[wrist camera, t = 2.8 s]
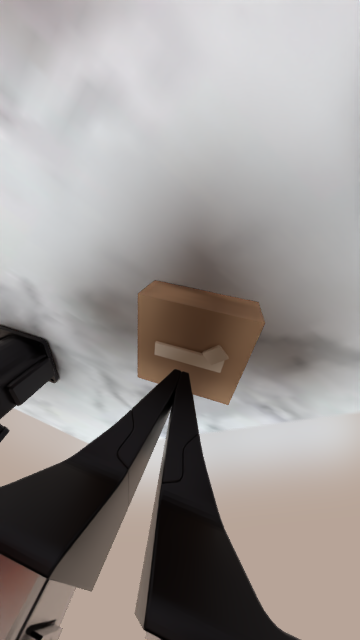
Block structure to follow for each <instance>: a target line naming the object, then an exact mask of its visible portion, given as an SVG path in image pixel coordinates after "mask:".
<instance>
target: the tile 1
mask: <svg viewBox="0 0 360 640" xmlns="http://www.w3.org/2000/svg"><path fill="white" fill-rule="evenodd" d="M264 324H265V321H264V318H263V315H262V312H261V309H260V305H259V302H255V301H250V300H245V299H241V298H236V297H231V296H227V295H222V294H217V293H213V292H208V291H203V290H199V289H194V288H189V287H184V286H180V285H175V284H170V283H166V282H161V281H156V280H155V281H153V282H152V283H151V284H150V285H148V286H147V287H146V288H144V289H143V290H142V291H141V292H139V293H138V377H139V378H142V379H145V380H148V381H152V382H155V383H158V384H159V383H160V382H161V381H162V380H163V379H164V378H165V377H166V376H167V375H168V374H169V373H171V372H172V371H173V370H174V369H178V370H181V372H182V371H184V372H188V373H189V376H190V382H191V388H192V394H194V395H197V396H200V397H204V398H207V399H210V400H213V401H217V402H220V403H223V404H226V405H229V402H230V400H231V398H232V396H233V393H234V391H235V389H236V387H237V384H238V382H239V380H240V378H241V376H242V373H243V371H244V369H245V367H246V364H247V362H248V360H249V358H250V356H251V353H252V351H253V349H254V347H255V344H256V342H257V340H258V338H259V335H260V333H261V331H262V329H263V327H264Z"/></svg>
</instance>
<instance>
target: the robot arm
mask: <svg viewBox="0 0 360 640" xmlns="http://www.w3.org/2000/svg"><path fill="white" fill-rule="evenodd" d="M58 380H59V379H58V375H57V372H56V369H55V366H54V363H53V359H52V356H51V353H50V350H49V347H48V344H47V342H46V341H45V340H43V339H40V338H37V337H34V336H31V335H28V334H25V333H22V332H19V331H15V330H12V329H9V328H6V327H3V326H0V419H1V418H2V417H3V416H4V415H5V414H7V413H8V412H9V411H10V410H11V409H12V408H14V407H15V406H16V405H17V406H19V405H21V404H23V403H24V402H25V401H26V400H27V399H28V398H29V397H31V396H32V395H33V394H34V393H35V392H36V391H37V390H39V389H40V388H41V387H42V386H43V385H44V384H45V383H47V382H48V381H50V382H52V383H56V382H57V381H58ZM171 407H172V408H171ZM170 410H171V412H170ZM169 413H170V418H169V423H168V429H167V435H166V440H165V446H164V452H163V457H162V463H161V468H160V474H159V480H158V485H157V492H156V497H155V502H154V508H153V513H152V519H151V525H150V531H149V536H148V542H147V547H146V553H145V559H144V564H143V570H142V575H141V581H140V587H139V593H138V599H137V603H136V609H135V615H136V617H137V619H138V620H139V622H140V624H141V626H142V628H143V629H144V630H145V631H146V637H145V640H300V639H298V638H296V637H294V636H292V635H290V634H288V633H286V632H284V631H282V630H281V629H279V628H278V627H277V626H276V625H275V624H274V623H273V622H272V621H271V619H270V618H269V616H268V615H267V614H266V612H265V611H264V609H263V607H262V606H261V604H260V602H259V600H258V598H257V596H256V594H255V592H254V590H253V588H252V586H251V583H250V581H249V579H248V577H247V575H246V573H245V571H244V569H243V567H242V565H241V562H240V560H239V558H238V556H237V554H236V552H235V550H234V548H233V546H232V544H231V542H230V539H229V537H228V535H227V534H226V531H225V529H224V526H223V524H222V521H221V518H220V515H219V512H218V508H217V505H216V501H215V498H214V494H213V491H212V487H211V484H210V480H209V477H208V473H207V469H206V465H205V461H204V457H203V453H202V447H201V442H200V436H199V430H198V424H197V418H196V412H195V406H194V400H193V394H192V388H191V382H190V376H189V373H188V372H184V371H182V372H181V370H178V369H174V370H173V371H172V372H171V373H169V374H168V375H167V376H166V377H165V378H164V379H163V380H162V381H161V382H160V383H159V384H158V385H157V386H156V387H155V388H154V389H152V390H151V391H150V392H149V393H148V394H147V395H146V396H145V397H144V398H143V399H142V400H141V401H140V402H139V403H138V404H136V405H135V406H134V407H133V408H132V410H130V411H129V412H128V413H127V414H126V415H125V416H124V417H122V418H121V419H120V420H119V421H118V422H117V423H116V424H114V425H113V426H112V427H111V428H109V429H108V430H107V431H105V432H104V433H103V434H102V435H100V436H99V437H98V438H96V439H95V440H94V441H92V442H91V443H90V444H88V445H87V446H86V447H84V448H83V449H82V450H80V451H79V452H78V453H76V454H75V455H73V456H72V457H70V458H68V459H67V460H65V461H63V462H61V463H58V464H56V465H53V466H51V467H49V468H46V469H44V470H42V471H39V472H37V473H34V474H32V475H29V476H27V477H25V478H22V479H20V480H17V481H15V482H12V483H10V484H8V485H5V486H2V487H0V640H58V639H59V637H60V634H61V632H62V628H61V627H60V624H61V622H62V619H63V617H64V615H65V612H66V610H67V608H68V605H69V603H70V601H71V598H72V596H73V593H74V591H75V589H76V587H78V588H81V589H84V590H88V591H92V590H93V587H94V585H95V583H96V581H97V578H98V576H99V574H100V571H101V569H102V567H103V565H104V562H105V560H106V558H107V555H108V553H109V551H110V548H111V546H112V544H113V542H114V539H115V537H116V535H117V532H118V530H119V528H120V525H121V523H122V521H123V519H124V516H125V514H126V512H127V509H128V507H129V504H130V502H131V500H132V498H133V496H134V493H135V491H136V489H137V486H138V484H139V482H140V480H141V477H142V475H143V473H144V470H145V468H146V466H147V463H148V461H149V459H150V457H151V454H152V452H153V450H154V447H155V445H156V443H157V440H158V438H159V436H160V434H161V431H162V429H163V427H164V424H165V422H166V420H167V417H168V415H169ZM8 432H9V430H8V429H7V428H6V427H5V426H2V425H1V424H0V442H1V441H2V440H3V438H4V437H5V436H6V435H7V434H8Z"/></svg>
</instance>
